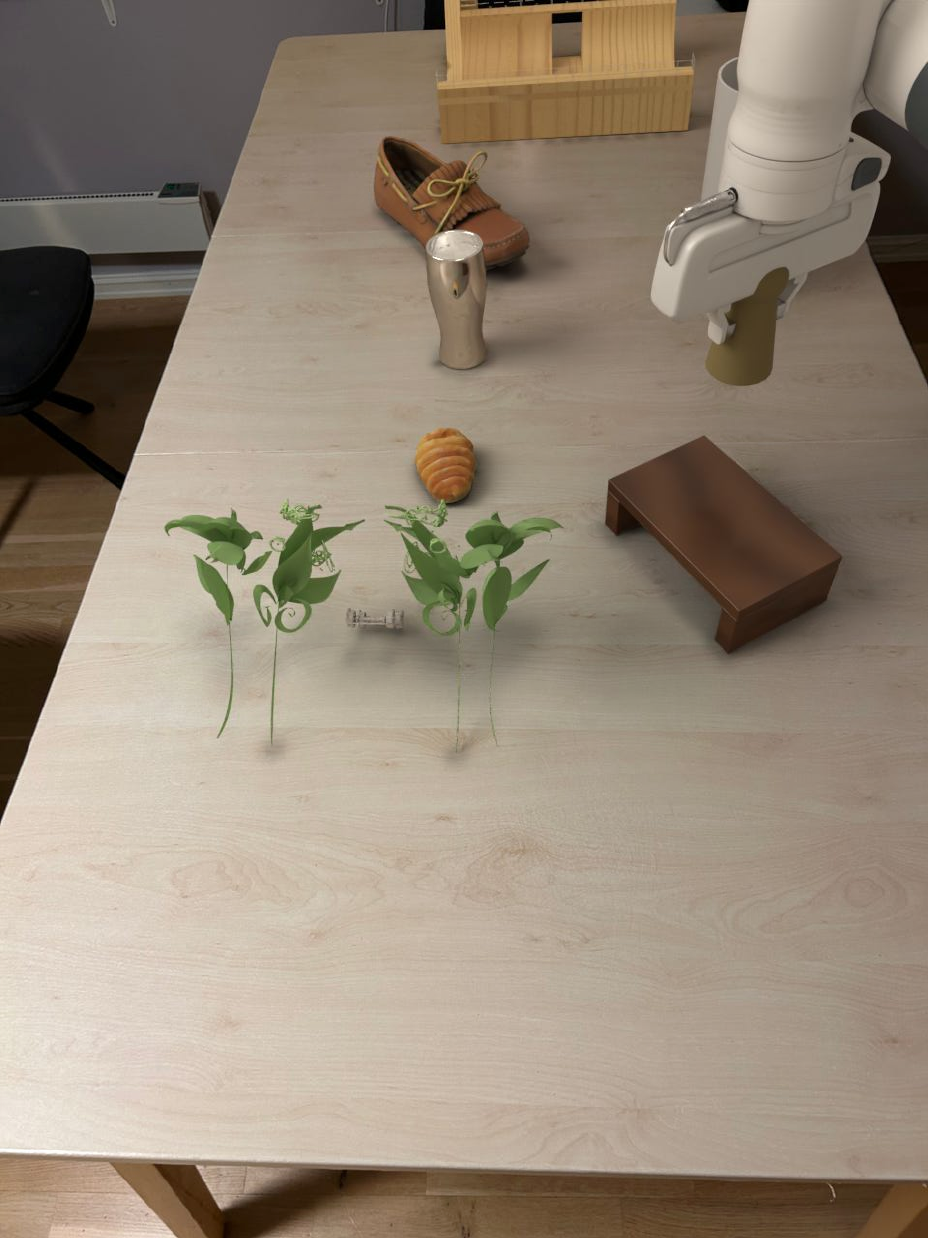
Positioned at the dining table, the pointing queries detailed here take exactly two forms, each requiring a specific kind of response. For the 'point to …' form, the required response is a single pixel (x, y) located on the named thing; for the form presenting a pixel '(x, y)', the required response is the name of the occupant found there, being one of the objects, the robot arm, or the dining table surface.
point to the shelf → (726, 537)
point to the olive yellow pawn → (750, 335)
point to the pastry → (446, 464)
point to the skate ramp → (561, 72)
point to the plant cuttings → (433, 568)
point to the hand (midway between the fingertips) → (747, 327)
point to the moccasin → (443, 200)
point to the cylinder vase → (720, 125)
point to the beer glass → (458, 296)
